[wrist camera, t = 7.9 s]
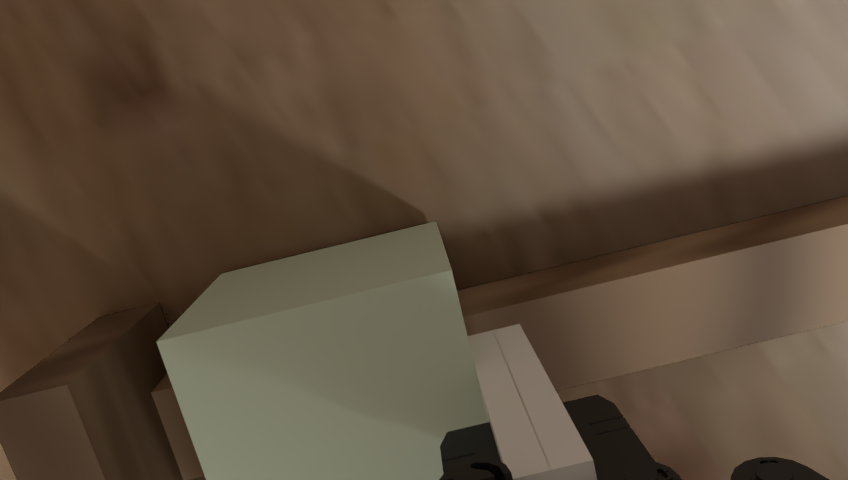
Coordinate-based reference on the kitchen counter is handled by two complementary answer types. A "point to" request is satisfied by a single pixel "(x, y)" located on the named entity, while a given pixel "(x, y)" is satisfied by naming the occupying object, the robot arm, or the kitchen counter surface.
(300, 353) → the slider
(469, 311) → the rail
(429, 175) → the kitchen counter surface
